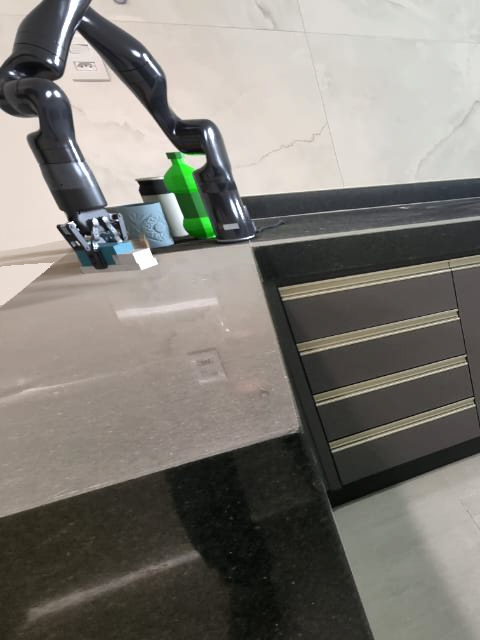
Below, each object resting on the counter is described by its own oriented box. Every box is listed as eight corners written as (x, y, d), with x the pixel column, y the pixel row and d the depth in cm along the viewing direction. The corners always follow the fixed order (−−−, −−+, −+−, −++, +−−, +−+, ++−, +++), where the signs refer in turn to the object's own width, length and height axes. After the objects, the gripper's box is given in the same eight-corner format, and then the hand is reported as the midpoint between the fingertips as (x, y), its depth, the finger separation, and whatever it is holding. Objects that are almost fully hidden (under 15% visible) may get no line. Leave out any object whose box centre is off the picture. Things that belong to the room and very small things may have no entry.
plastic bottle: (192, 236, 168) (159, 152, 158) (231, 232, 172) (201, 150, 161) (181, 242, 160) (145, 154, 149) (222, 238, 163) (189, 151, 153)
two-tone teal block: (83, 273, 115) (70, 248, 112) (102, 267, 119) (90, 243, 117) (141, 270, 116) (129, 245, 113) (158, 264, 120) (147, 240, 118)
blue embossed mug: (174, 245, 155) (157, 203, 150) (130, 251, 150) (110, 208, 145) (178, 240, 163) (161, 200, 158) (135, 245, 158) (117, 204, 153)
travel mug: (164, 239, 165) (138, 179, 157) (155, 237, 169) (129, 179, 161) (194, 234, 171) (171, 176, 163) (184, 233, 175) (161, 176, 167)
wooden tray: (95, 260, 141) (84, 239, 139) (152, 252, 148) (144, 231, 146) (91, 272, 129) (79, 249, 126) (154, 262, 136) (144, 240, 133)
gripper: (62, 189, 103) (104, 273, 111) (120, 180, 116) (154, 256, 124) (21, 191, 103) (66, 275, 110) (84, 182, 116) (120, 258, 123)
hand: (112, 265), depth 117 cm, fingers closed on two-tone teal block, 5 cm apart
